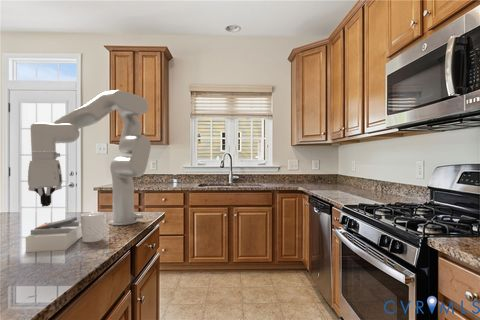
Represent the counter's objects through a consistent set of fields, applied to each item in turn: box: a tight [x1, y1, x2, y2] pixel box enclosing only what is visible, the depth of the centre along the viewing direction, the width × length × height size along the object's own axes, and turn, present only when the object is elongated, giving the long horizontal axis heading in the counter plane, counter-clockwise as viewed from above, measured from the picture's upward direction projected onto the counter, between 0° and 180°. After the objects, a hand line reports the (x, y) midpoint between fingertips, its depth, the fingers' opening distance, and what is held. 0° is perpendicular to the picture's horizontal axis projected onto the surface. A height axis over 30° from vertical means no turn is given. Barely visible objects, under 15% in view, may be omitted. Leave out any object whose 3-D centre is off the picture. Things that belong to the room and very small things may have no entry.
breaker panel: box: [25, 220, 82, 253], centre depth 107 cm, size 12×18×6 cm, turn 13°
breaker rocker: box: [33, 216, 78, 230], centre depth 107 cm, size 12×6×1 cm, turn 102°
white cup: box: [80, 211, 105, 243], centre depth 112 cm, size 8×8×10 cm
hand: (46, 205), depth 110 cm, fingers closed
